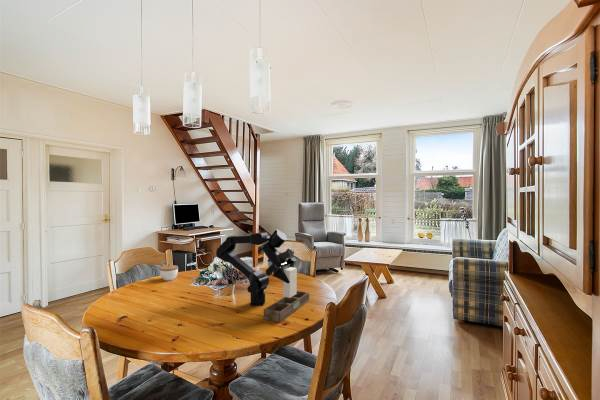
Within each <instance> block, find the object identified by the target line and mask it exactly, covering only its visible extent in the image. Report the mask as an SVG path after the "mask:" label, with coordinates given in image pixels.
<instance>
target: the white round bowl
mask: <svg viewBox="0 0 600 400" xmlns="http://www.w3.org/2000/svg"><path fill="white" fill-rule="evenodd" d="M178 273H179V266H178V265H173V264H172V265H171V264H168V265H164V266H161V267H159V275H160V278H161V279H162V280H163V281H165V282H167V281H168V282H170V281H174V280H175V279H176V277H177V276H178V275H179V274H178Z"/></svg>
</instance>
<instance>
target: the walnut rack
mask: <svg viewBox="0 0 600 400" xmlns="http://www.w3.org/2000/svg"><path fill="white" fill-rule="evenodd" d="M308 302H310V292H309V291H301V290H297V294H296V295H294V296H292V297H290V298H288V297H283V296H282V297H281V298H280V299H278V300H277V301H275V302H273V303H272V304H271V305H269V306H267V307H266V308H264V309H263V320H268V321H272V322H276V323H277V322H278V323H282V322H283V321H284V320H286V319H287V318H288V317H290V316H291V315H292V314H293V313H295V312H296V311H297V310H299V309H300V308H301V307H303V306H304V305H306V304H307V303H308Z"/></svg>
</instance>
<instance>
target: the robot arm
mask: <svg viewBox="0 0 600 400" xmlns="http://www.w3.org/2000/svg"><path fill="white" fill-rule="evenodd" d="M287 240H288V237H287V234H285V233H284V232H283V231H280V230H279V229H275V230H274V231H273V233H272V234H268V232H267V231H261V232H256V233H251V234H248V235H247V234H245V235H231V236H230V235H229V236H228V237H226V239H225V240H224V241H223V242H222V243H221V244H219V247H217V248H216V253H215V255H216V257H217V258H218V259H219V260H221V261H223V262H227V263H229V264H230V265H232V266H233V267H234V269H235V268H236V269H238V270H239V271H240V272H241V273H242V274H243V275H245V276H244V277H245V278H246V279H248V283H249V285H248V286H247V287H246V289H247V292H248V293H249V294H250V303H249V306H264V305H265V303H266V292H265V290H266V289H267V288H268V286H269V284H270V279H269V277H274V278H276V279H278V280H280V281H284V282H286V283H290V281H289V279H288V278H287V276H286V275H285V273H284V269H287V268H289V267H293V268H295V267H294V266H295V263H297V262H298V260H297V259H296V257H295V256H294V255H295V250H293V248H292V247H288V248H287V249H286V251H283V252H282V251H281V250H278V249H279V248H280V247H282V246H283V245H284V243H285V242H287ZM237 244H250V245H255V246H259V250H258V253H259V254H261V253H264V255H265V256H266V257H267V262H268V263H271V264H270V265H269V267H267V269H266V270H265V272H264V271H263V270H262V269H260V270H255V269H254V268H253V269H252V268H251V267H250V266H249V265H247V264H246V263H245V262H244V261H242V260H241V259H240V258H241V257H239V256H237V254H236V251H235V249H236V245H237ZM260 245H262V246H260Z"/></svg>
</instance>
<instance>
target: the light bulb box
mask: <svg viewBox="0 0 600 400" xmlns="http://www.w3.org/2000/svg"><path fill="white" fill-rule="evenodd" d="M239 258H240V259H241V260H242V261H244V262H245V263H246V264H247V265H249V266H250V267H251V268H252V269H253V270H254V267H253V266H254V264H253V262H254V261H253V257H251V256H250V257H249V256H245V257H239Z"/></svg>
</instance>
